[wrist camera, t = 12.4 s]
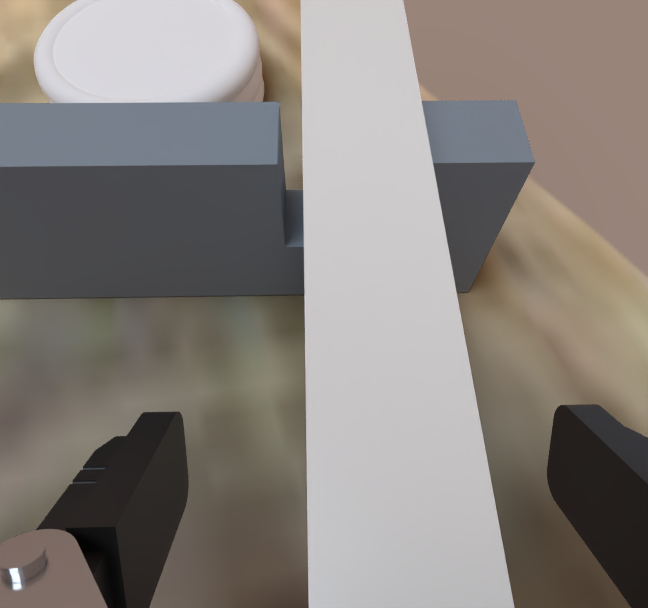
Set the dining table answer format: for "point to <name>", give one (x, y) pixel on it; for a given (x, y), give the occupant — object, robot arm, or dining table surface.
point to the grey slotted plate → (209, 196)
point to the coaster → (150, 53)
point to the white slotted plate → (385, 338)
